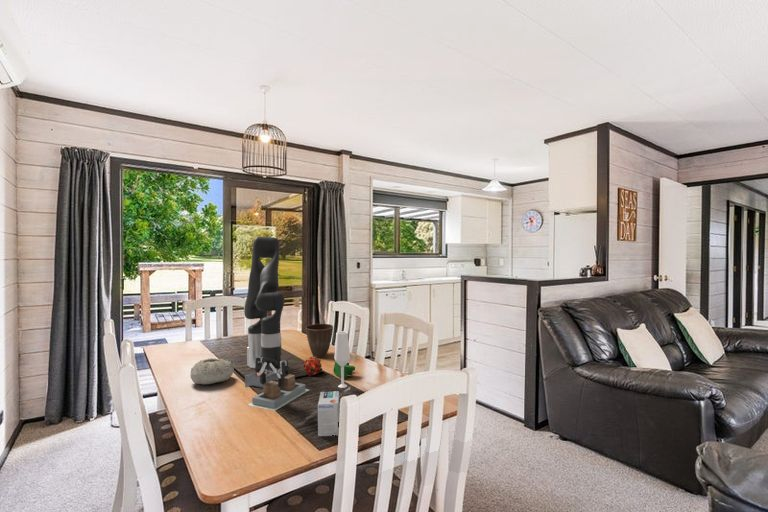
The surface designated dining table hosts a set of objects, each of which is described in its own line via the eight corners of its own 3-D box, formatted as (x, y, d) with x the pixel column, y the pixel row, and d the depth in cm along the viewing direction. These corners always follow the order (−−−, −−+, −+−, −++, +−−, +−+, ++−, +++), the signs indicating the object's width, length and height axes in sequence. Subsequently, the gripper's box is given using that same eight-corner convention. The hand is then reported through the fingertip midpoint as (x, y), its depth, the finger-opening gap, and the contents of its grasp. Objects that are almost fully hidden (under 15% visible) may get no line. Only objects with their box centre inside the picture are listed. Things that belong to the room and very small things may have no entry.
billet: (279, 394, 160) (278, 377, 160) (286, 390, 164) (286, 373, 164) (288, 395, 158) (287, 378, 158) (295, 391, 163) (294, 375, 162)
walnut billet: (263, 402, 152) (263, 384, 152) (271, 398, 156) (271, 380, 156) (272, 404, 150) (272, 386, 150) (280, 400, 154) (280, 382, 154)
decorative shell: (224, 372, 190) (223, 352, 190) (240, 381, 178) (240, 359, 177) (184, 382, 178) (184, 360, 178) (199, 392, 165) (198, 369, 165)
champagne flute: (338, 392, 164) (337, 335, 163) (332, 387, 170) (331, 331, 169) (353, 389, 167) (352, 333, 166) (347, 384, 173) (346, 330, 172)
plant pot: (339, 354, 219) (338, 325, 219) (321, 361, 207) (320, 330, 206) (318, 350, 227) (318, 322, 227) (300, 356, 215) (299, 327, 214)
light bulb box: (320, 421, 138) (319, 391, 137) (339, 420, 138) (339, 390, 138) (317, 437, 127) (317, 404, 127) (338, 435, 128) (338, 403, 127)
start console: (245, 386, 171) (244, 375, 171) (261, 379, 180) (260, 368, 180) (263, 390, 167) (262, 378, 167) (278, 382, 176) (278, 371, 176)
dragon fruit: (314, 372, 194) (314, 384, 182) (299, 364, 192) (299, 375, 180) (324, 358, 193) (325, 370, 182) (310, 350, 191) (309, 361, 180)
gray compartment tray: (247, 407, 150) (247, 398, 150) (284, 387, 170) (284, 379, 170) (274, 413, 145) (274, 404, 145) (309, 392, 165) (309, 383, 165)
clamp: (350, 386, 183) (357, 370, 181) (338, 385, 180) (345, 369, 178) (343, 369, 193) (349, 354, 191) (332, 368, 190) (338, 352, 188)
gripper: (249, 344, 152) (250, 386, 153) (279, 348, 146) (280, 391, 147) (263, 339, 159) (264, 379, 159) (292, 343, 153) (293, 384, 154)
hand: (272, 385), depth 153 cm, fingers open, 8 cm apart
